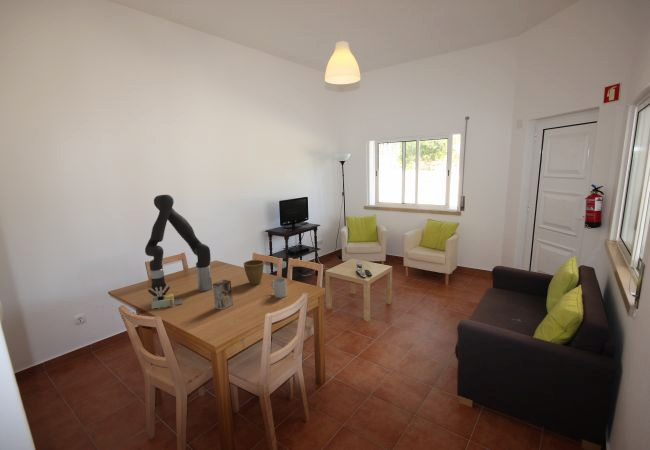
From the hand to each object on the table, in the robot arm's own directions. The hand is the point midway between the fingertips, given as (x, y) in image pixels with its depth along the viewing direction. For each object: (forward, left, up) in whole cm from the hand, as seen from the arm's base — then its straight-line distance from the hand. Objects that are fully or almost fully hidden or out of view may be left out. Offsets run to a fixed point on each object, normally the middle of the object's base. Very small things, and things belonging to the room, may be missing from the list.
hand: (160, 301), depth 202 cm
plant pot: (-62, -13, -3) cm, 64 cm away
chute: (-3, 0, -2) cm, 4 cm away
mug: (-73, +16, -3) cm, 75 cm away
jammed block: (-5, 0, -2) cm, 6 cm away
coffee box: (-37, +19, -3) cm, 42 cm away
